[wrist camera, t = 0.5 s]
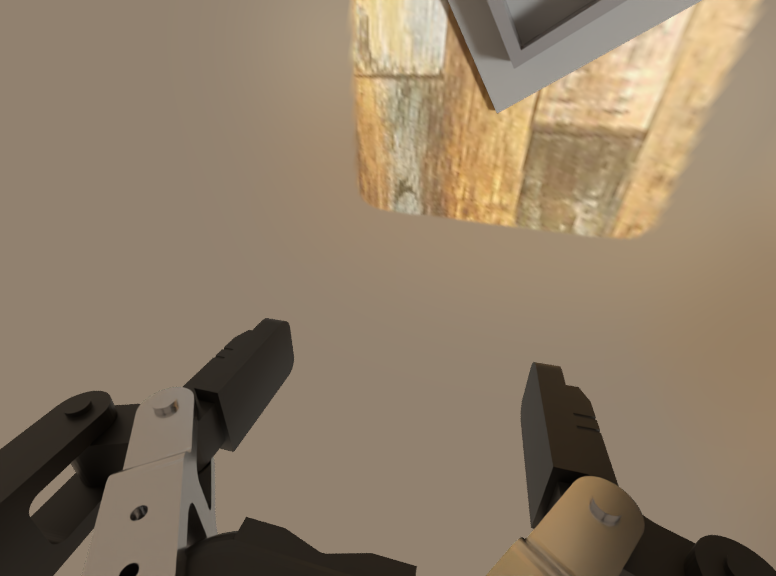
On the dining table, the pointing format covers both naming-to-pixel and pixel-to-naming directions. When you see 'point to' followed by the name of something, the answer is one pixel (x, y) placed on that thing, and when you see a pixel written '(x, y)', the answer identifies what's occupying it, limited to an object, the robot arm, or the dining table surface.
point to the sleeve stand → (549, 37)
